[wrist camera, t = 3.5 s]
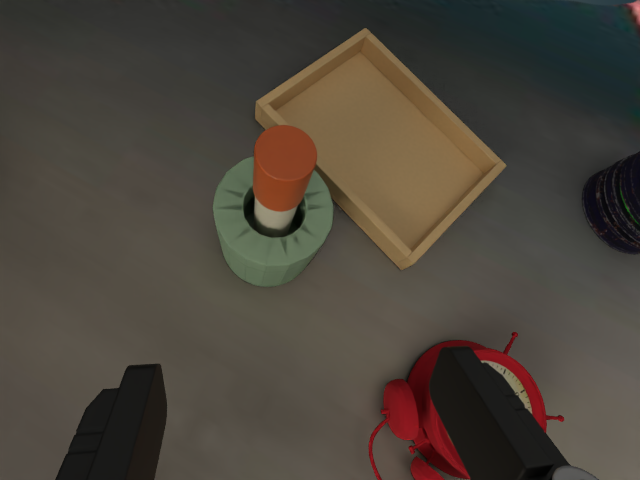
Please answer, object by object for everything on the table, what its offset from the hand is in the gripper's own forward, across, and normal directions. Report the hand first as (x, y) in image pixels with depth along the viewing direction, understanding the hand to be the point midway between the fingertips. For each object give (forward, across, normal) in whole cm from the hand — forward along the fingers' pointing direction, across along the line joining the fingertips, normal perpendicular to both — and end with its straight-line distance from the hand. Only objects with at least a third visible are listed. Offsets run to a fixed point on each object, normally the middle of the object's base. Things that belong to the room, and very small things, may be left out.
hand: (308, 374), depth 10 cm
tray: (+27, -11, 0) cm, 29 cm away
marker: (+20, 0, +7) cm, 21 cm away
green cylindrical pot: (+20, 0, +7) cm, 22 cm away
